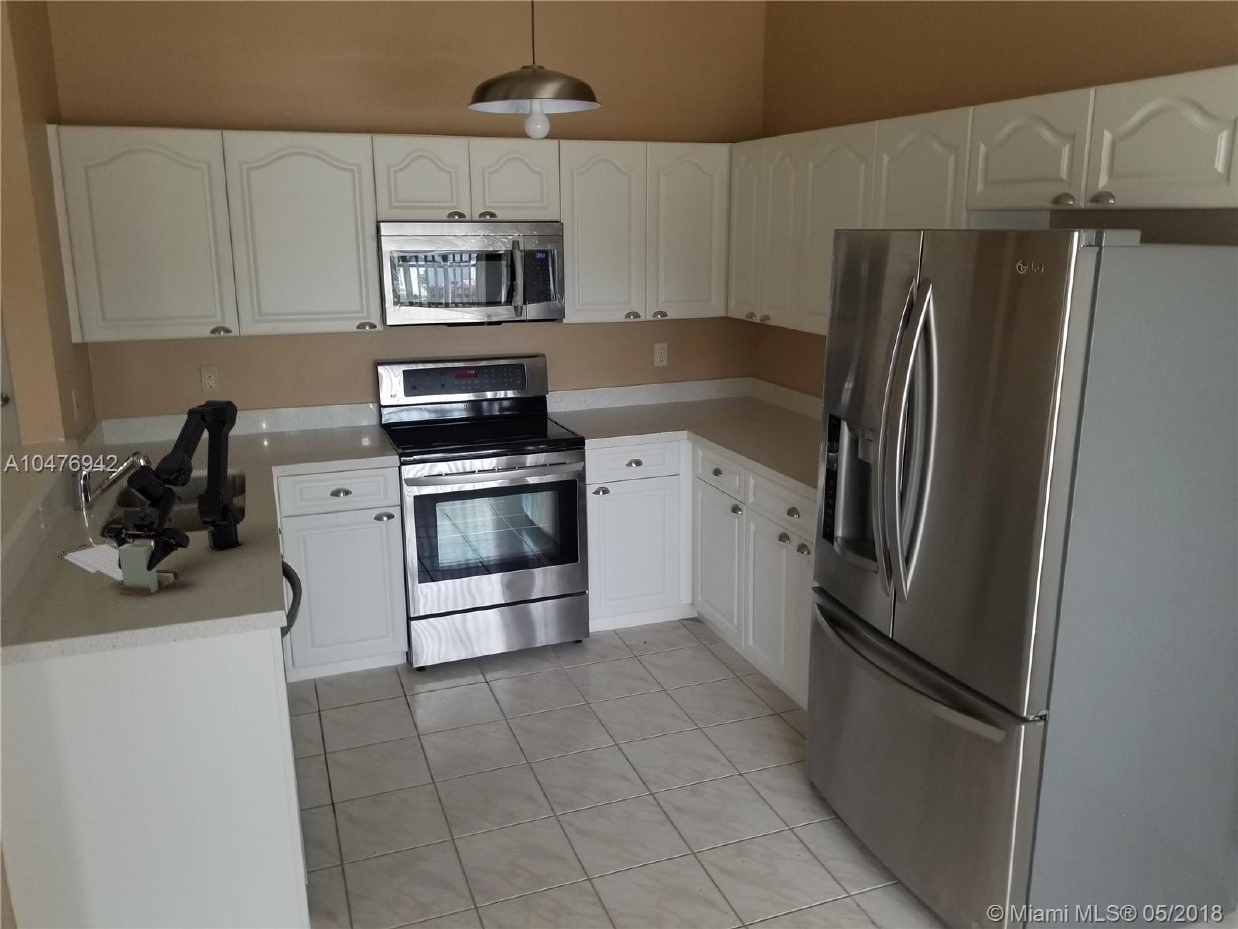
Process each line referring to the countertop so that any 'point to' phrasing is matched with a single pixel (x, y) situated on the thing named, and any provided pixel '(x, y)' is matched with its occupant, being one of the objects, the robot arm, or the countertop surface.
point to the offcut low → (168, 580)
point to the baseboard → (97, 560)
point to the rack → (147, 590)
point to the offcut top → (164, 576)
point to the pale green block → (137, 566)
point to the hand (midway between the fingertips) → (134, 569)
